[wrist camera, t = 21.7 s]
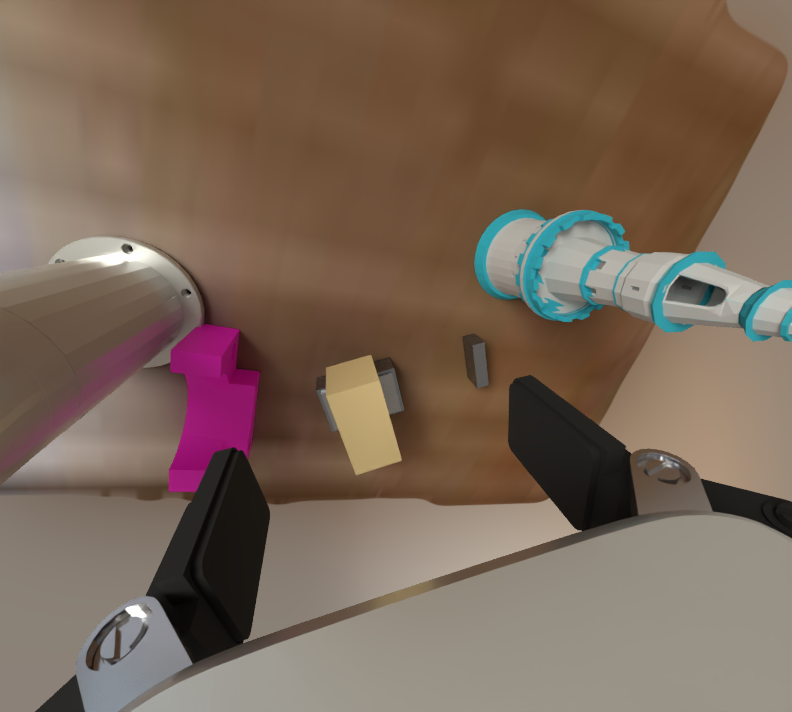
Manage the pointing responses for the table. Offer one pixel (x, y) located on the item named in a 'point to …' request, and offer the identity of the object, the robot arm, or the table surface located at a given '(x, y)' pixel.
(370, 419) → the yellow rectangular block
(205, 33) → the table surface
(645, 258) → the model tower
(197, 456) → the toy block
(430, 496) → the table surface
